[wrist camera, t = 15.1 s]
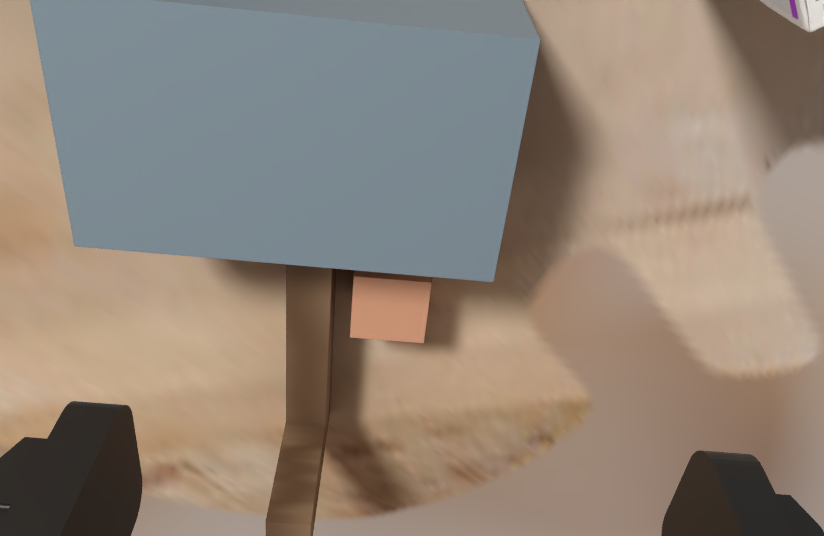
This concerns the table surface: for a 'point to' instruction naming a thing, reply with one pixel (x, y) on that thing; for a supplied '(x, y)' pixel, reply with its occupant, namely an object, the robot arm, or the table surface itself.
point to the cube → (389, 306)
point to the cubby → (291, 128)
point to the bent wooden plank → (304, 399)
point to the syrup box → (800, 12)
